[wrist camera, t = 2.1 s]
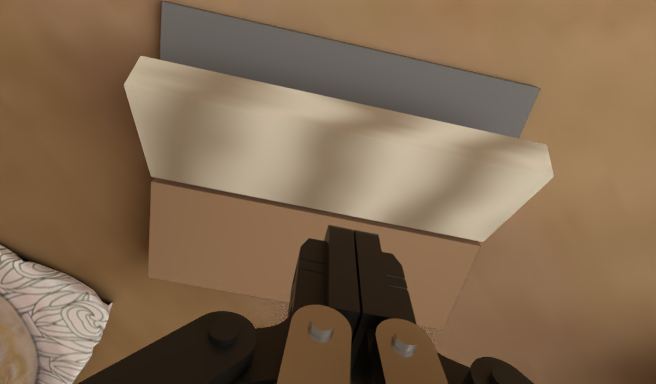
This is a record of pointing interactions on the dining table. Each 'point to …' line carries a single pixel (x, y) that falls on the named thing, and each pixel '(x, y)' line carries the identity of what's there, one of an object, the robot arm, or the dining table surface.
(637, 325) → the dining table surface
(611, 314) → the dining table surface
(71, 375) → the cookie jar
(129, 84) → the plank
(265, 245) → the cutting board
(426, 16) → the dining table surface
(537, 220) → the dining table surface
